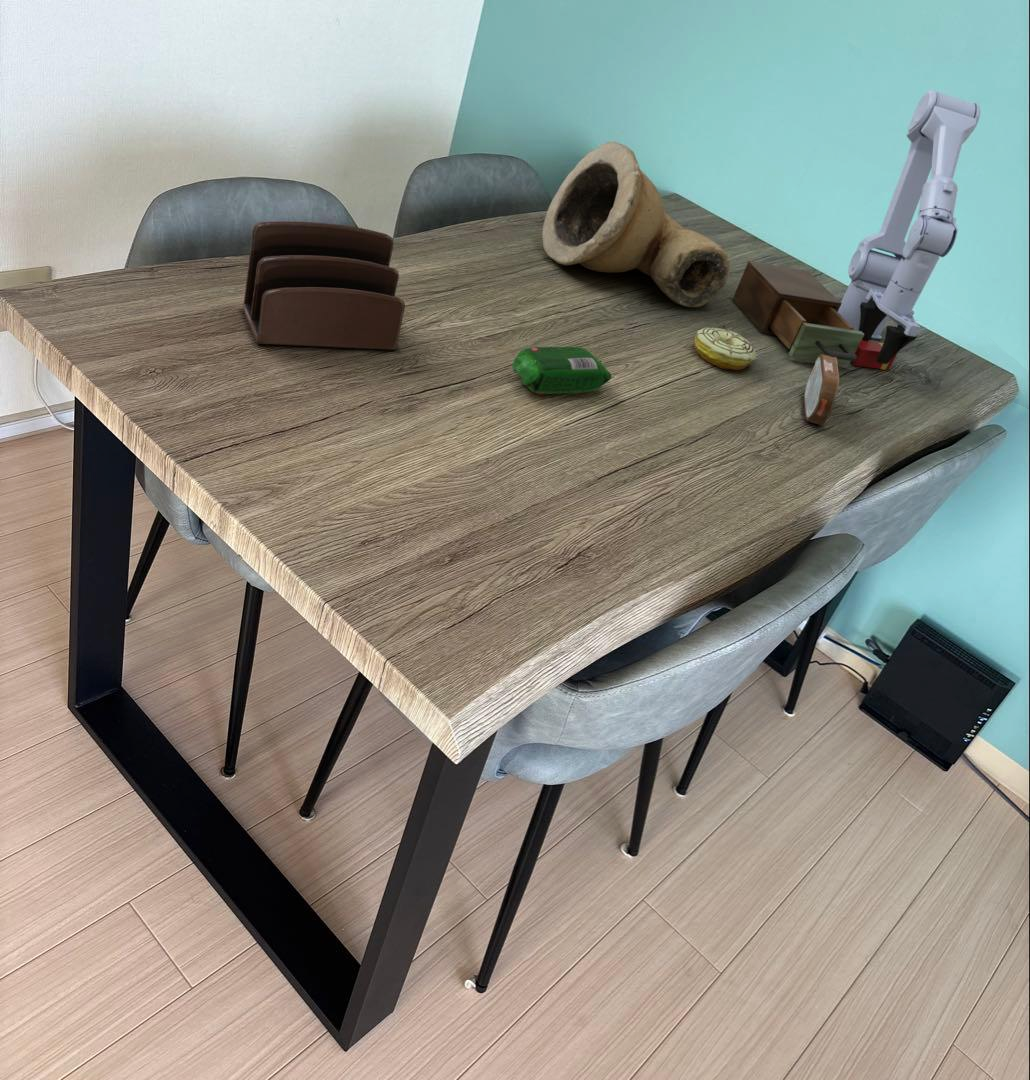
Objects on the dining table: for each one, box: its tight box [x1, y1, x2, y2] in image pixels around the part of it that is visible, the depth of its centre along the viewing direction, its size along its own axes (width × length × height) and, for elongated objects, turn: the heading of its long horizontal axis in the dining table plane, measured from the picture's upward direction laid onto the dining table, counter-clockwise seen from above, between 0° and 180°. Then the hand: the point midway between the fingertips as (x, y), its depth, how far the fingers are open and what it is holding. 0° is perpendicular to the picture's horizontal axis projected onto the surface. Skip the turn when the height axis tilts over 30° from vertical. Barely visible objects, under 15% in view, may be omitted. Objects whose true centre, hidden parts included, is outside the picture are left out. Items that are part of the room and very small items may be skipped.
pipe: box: [541, 141, 731, 308], centre depth 190 cm, size 23×29×30 cm
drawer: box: [769, 298, 864, 366], centre depth 183 cm, size 17×12×6 cm
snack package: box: [512, 346, 612, 395], centre depth 148 cm, size 7×16×5 cm, turn 118°
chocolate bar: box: [850, 340, 898, 371], centre depth 189 cm, size 8×4×3 cm, turn 105°
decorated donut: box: [694, 327, 757, 371], centre depth 173 cm, size 10×11×4 cm
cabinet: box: [731, 260, 842, 337], centre depth 193 cm, size 14×14×8 cm
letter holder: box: [242, 220, 406, 351], centre depth 140 cm, size 10×20×14 cm, turn 113°
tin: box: [803, 354, 840, 427], centre depth 164 cm, size 15×3×8 cm, turn 168°
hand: (871, 352), depth 189 cm, fingers open, 7 cm apart
